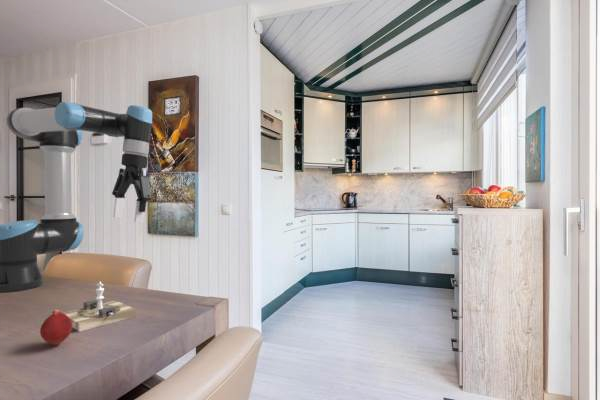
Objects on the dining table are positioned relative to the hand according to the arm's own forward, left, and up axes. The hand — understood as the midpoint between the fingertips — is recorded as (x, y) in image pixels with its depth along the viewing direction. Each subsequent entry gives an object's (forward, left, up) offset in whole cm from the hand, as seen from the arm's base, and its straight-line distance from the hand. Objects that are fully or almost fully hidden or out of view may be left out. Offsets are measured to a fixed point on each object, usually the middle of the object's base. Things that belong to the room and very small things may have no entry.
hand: (128, 219), depth 110 cm
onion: (+22, -26, -26) cm, 43 cm away
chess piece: (+12, -13, -26) cm, 31 cm away
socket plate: (+12, -13, -26) cm, 31 cm away
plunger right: (+17, -13, -23) cm, 32 cm away
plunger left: (+7, -13, -23) cm, 28 cm away
